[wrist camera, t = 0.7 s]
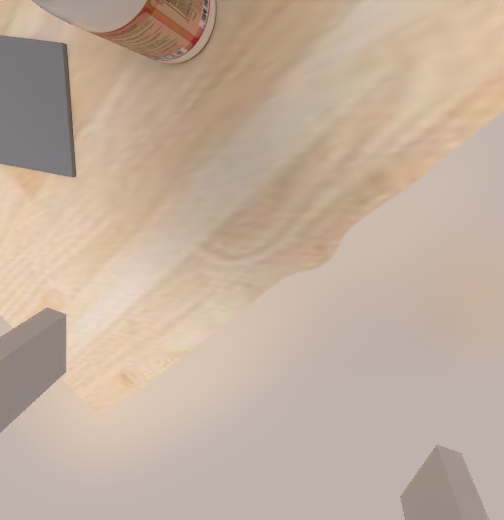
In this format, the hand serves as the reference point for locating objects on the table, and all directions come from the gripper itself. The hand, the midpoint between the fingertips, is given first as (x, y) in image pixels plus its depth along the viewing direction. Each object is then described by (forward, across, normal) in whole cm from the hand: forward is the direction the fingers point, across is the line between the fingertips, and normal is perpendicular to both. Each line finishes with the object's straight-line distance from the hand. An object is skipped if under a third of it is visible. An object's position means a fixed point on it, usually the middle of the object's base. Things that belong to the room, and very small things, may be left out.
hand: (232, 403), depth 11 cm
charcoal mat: (+28, -35, +3) cm, 45 cm away
